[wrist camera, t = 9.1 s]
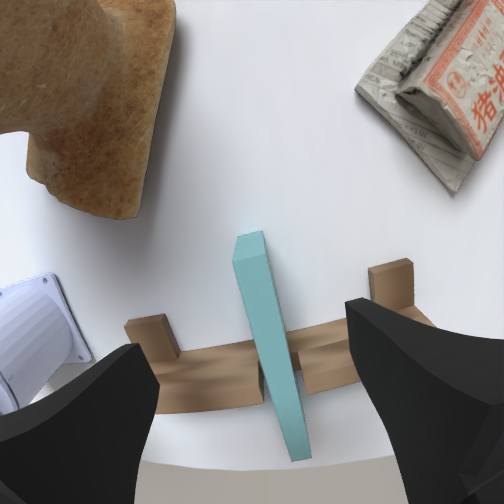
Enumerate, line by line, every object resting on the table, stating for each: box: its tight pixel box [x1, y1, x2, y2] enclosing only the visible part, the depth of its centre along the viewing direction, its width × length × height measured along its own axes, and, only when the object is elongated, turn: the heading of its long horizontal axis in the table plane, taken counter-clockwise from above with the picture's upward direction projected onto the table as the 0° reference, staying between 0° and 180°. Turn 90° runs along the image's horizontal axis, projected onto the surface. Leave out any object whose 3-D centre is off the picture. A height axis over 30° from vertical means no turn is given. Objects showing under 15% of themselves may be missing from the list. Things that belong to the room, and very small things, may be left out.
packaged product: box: [355, 0, 504, 192], centre depth 12 cm, size 18×5×10 cm
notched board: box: [124, 258, 437, 414], centre depth 18 cm, size 20×8×5 cm, turn 104°
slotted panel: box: [232, 231, 312, 462], centre depth 18 cm, size 16×2×5 cm, turn 14°
